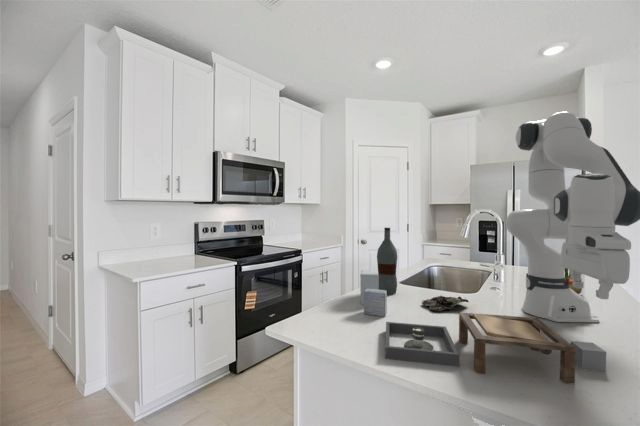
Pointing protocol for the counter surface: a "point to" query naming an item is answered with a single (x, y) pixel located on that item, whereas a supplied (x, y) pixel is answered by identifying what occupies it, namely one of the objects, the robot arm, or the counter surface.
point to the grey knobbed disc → (418, 340)
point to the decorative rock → (443, 302)
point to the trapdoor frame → (518, 343)
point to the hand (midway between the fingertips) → (589, 292)
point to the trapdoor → (510, 329)
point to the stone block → (589, 356)
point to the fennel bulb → (571, 279)
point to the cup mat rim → (421, 354)
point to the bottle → (387, 264)
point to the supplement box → (368, 282)
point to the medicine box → (375, 302)
